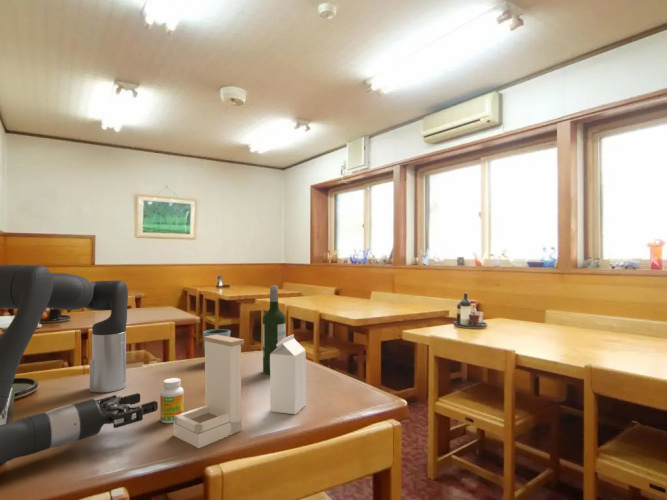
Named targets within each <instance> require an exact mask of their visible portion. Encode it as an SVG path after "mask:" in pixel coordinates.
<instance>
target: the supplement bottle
mask: <svg viewBox="0 0 667 500" xmlns="http://www.w3.org/2000/svg"><path fill="white" fill-rule="evenodd" d="M162 383H163V385H162V386H163V388H162V390H161V391H160V399H159V403H160V408H159V409H160V422H162V423H164V424H174V416H175V415H179V414H182V413H185V412H184V411H185V409H184V399H185V398H184V397H185V396H184V393H185V392H184V391H185V390H184V388H183V387H182V386H181V385H182V384H181V379H180V378H178V377H170V378H167V379H164V380H163V382H162Z"/></svg>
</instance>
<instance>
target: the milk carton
mask: <svg viewBox="0 0 667 500" xmlns="http://www.w3.org/2000/svg"><path fill="white" fill-rule="evenodd" d="M276 346H277V348H276V349H275V350H274V351H273V352H272V353H271V354H270V375H269V377H270V378H269V383H270V385H269V387H270V388H269V390H270V391H269V392H270V396H269V397H270V398H269V399H270V400H269V401H270V402H269V403H270V405H269V406H270V407H269V408H270V409H269V411H270V412H273V413H282V414H289V415H297V414H298V413H299V412H300V411H301V410H302V409H303V408H304V407H306V406H307V391H306V388H307V387H306V386H307V385H306V384H307V383H306V382H307V381H306V378H307V377H306V375H307V373H306V371H307V370H306V367H307V366H306V365H307V364H306V362H307V360H306V349H305V348H304V347H303V346H302V345H301V344H300V343H299V342H298V341H297V340H296V339H295V334H294V333H293V334H291V335H289V336H286V338H284V339H282V341H280V342H279V343H277V344H276Z"/></svg>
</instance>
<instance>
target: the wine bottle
mask: <svg viewBox="0 0 667 500" xmlns="http://www.w3.org/2000/svg"><path fill="white" fill-rule="evenodd" d="M278 291H279V286H278V285H270V287H269V309H268V310H267V312H265V314H264V315H263V316H262V371H263V374H265V375H269V376H270V354H271V353H272V352H273V351H274V350H275V349H276V348H277V346H276V344H277V343H279V342H280V341H282V339H284V338H286V337H287V335H286V316H285V313H283V312H282V311H281V309H280V308H279V294H278V293H279V292H278Z"/></svg>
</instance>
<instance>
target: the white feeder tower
mask: <svg viewBox="0 0 667 500" xmlns="http://www.w3.org/2000/svg"><path fill="white" fill-rule="evenodd" d="M204 341H205V349H204V405H203V406H201V407H197V408H194V409H191V410H188V411H185V412H184V413H182V414H179V415H175V416H174V423H173V437H176V438H178V439H180V440H181V441H184V442H185V443H188V444H190V445H191V446H194V447H195V448H197V449H200V448H202V447H206V446H207V445H209V444H212V443H215V442H217V441H220V440H222V439H225V438H227V437H229V435H230V436H232V435H234V434H236V432H237V433H239V432H241V431H242V345H245V339H244V338H238V337H232V336H230V337H228V336H222V335H217V334H216V335H210V336H205V337H203V342H204ZM238 431H239V432H238ZM224 437H225V438H224ZM219 439H220V440H219Z"/></svg>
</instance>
